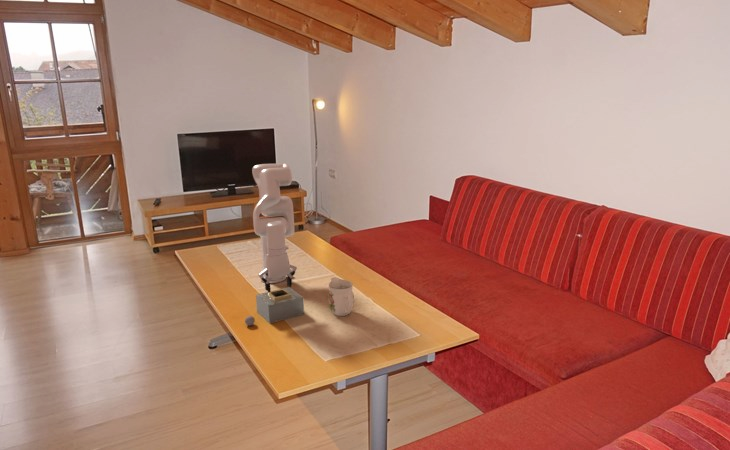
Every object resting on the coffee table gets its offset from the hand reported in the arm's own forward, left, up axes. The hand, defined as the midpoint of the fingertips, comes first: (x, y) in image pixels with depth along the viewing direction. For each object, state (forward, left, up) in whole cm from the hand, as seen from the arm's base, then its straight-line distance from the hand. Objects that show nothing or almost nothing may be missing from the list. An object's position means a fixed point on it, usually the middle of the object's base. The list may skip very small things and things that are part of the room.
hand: (278, 288), depth 233 cm
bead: (+15, +4, -7) cm, 17 cm away
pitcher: (-22, +16, -12) cm, 30 cm away
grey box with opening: (0, 0, -11) cm, 11 cm away
